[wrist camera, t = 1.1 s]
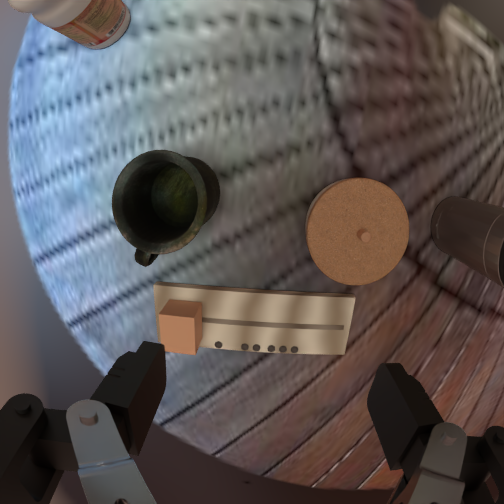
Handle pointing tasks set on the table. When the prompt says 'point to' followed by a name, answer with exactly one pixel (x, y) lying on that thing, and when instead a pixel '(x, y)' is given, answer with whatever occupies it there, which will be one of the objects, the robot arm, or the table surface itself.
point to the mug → (163, 202)
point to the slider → (181, 326)
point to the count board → (265, 318)
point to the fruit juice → (80, 19)
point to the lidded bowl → (356, 230)
